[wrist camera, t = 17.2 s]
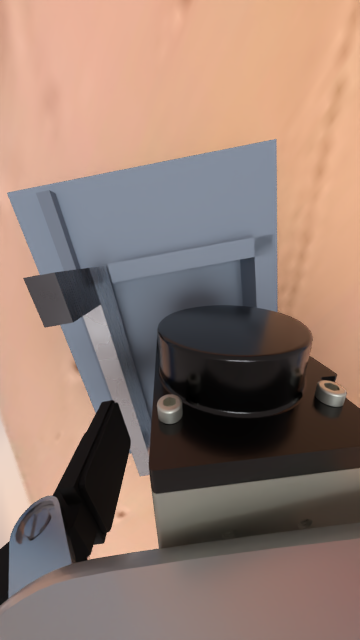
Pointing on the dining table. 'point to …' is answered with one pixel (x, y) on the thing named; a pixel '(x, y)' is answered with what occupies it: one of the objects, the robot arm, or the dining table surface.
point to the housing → (160, 243)
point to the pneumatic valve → (247, 429)
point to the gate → (99, 341)
